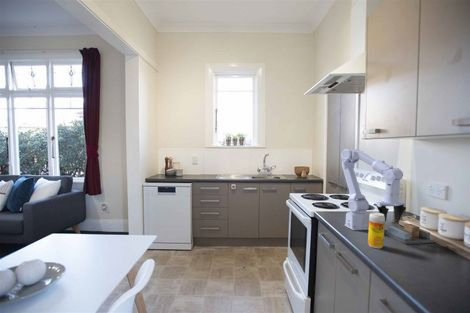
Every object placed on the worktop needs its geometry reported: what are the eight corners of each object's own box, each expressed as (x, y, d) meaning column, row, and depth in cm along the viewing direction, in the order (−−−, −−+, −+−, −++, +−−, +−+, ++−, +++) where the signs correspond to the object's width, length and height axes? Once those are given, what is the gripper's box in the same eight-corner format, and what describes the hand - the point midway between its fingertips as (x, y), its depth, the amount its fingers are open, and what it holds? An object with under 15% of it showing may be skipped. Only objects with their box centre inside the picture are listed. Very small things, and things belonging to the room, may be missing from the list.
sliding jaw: (404, 240, 115) (405, 233, 115) (388, 232, 125) (388, 226, 125) (409, 239, 115) (410, 233, 115) (392, 231, 125) (393, 226, 125)
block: (411, 237, 119) (411, 227, 118) (403, 233, 123) (404, 224, 123) (418, 236, 120) (419, 226, 119) (411, 233, 124) (411, 223, 124)
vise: (405, 244, 114) (406, 234, 114) (385, 234, 126) (386, 226, 125) (434, 242, 117) (435, 233, 116) (412, 233, 128) (412, 224, 128)
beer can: (375, 249, 107) (377, 216, 106) (364, 244, 113) (366, 212, 112) (386, 248, 109) (388, 215, 108) (375, 242, 115) (377, 211, 114)
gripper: (385, 195, 113) (383, 224, 113) (412, 194, 115) (410, 222, 116) (374, 192, 119) (372, 219, 120) (399, 191, 122) (397, 218, 123)
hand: (390, 220), depth 119 cm, fingers open, 7 cm apart
